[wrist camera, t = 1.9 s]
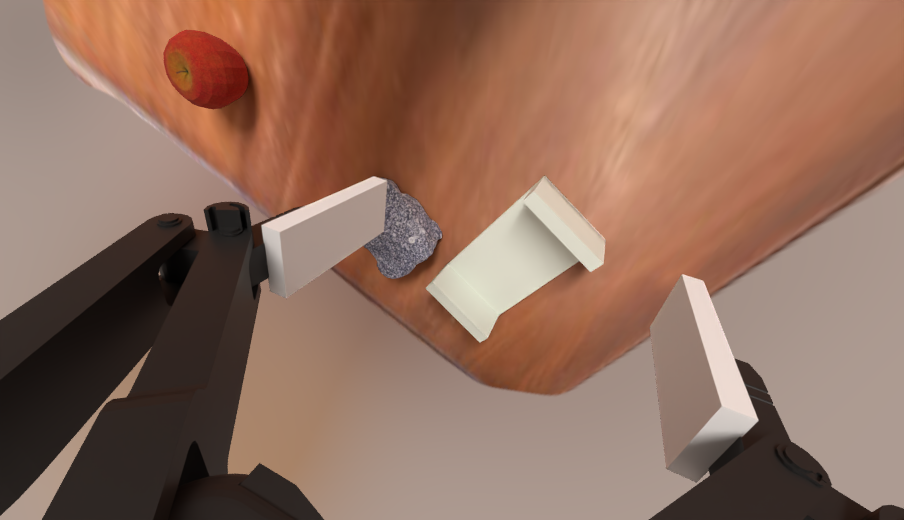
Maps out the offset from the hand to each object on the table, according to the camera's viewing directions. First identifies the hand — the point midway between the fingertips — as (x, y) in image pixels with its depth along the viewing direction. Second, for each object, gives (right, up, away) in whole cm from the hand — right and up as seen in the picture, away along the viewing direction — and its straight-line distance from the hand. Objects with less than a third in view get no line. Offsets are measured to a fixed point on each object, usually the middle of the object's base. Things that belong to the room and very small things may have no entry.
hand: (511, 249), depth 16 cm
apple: (-29, +23, +29) cm, 47 cm away
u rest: (+5, 0, +25) cm, 26 cm away
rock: (-10, +4, +30) cm, 32 cm away
